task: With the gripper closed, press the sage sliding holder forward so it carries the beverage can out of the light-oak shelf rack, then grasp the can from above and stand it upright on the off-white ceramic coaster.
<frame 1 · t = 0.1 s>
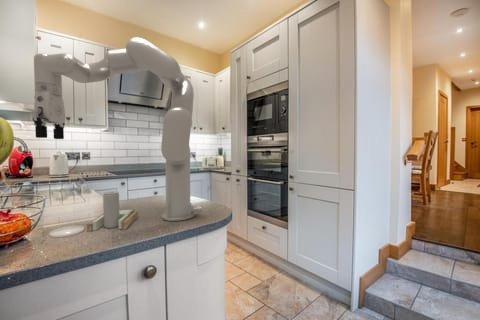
hand: (50, 138, 83), 31 cm above the worktop, tool pointing down, fingers open, 9 cm apart
ceramic coaster: (67, 232, 74), on the worktop
sliding holder: (115, 219, 83), point 2 cm above the worktop, slide at 0.0 cm
beverage can: (112, 226, 80), on the worktop
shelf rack: (115, 223, 83), on the worktop
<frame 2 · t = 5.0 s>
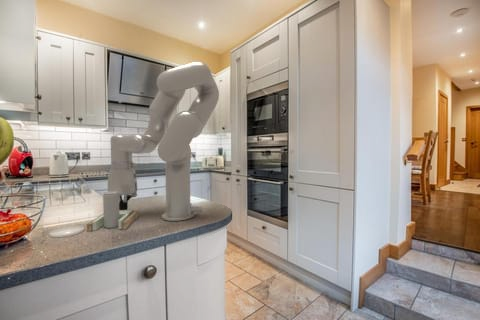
hand: (123, 211, 92), 2 cm above the worktop, tool pointing down, fingers closed
sliding holder: (115, 219, 83), point 2 cm above the worktop, slide at 0.1 cm, touching gripper
everything else where it was.
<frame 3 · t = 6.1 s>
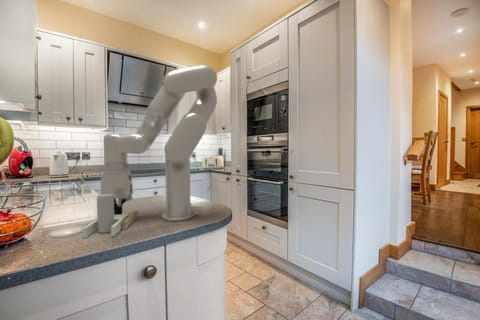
hand: (117, 216, 85), 2 cm above the worktop, tool pointing down, fingers closed
sliding holder: (108, 224, 77), point 2 cm above the worktop, slide at 6.4 cm, touching gripper
beverage can: (106, 231, 76), on the worktop
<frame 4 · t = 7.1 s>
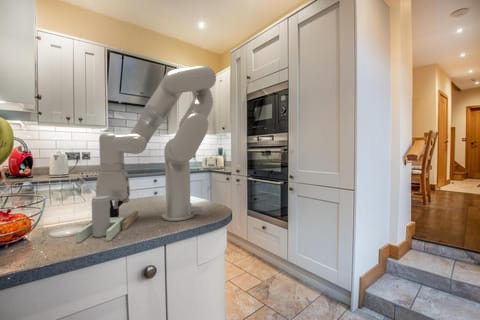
hand: (113, 219, 82), 2 cm above the worktop, tool pointing down, fingers closed
sliding holder: (103, 228, 74), point 2 cm above the worktop, slide at 9.9 cm, touching beverage can, gripper
beverage can: (101, 235, 72), on the worktop, touching sliding holder
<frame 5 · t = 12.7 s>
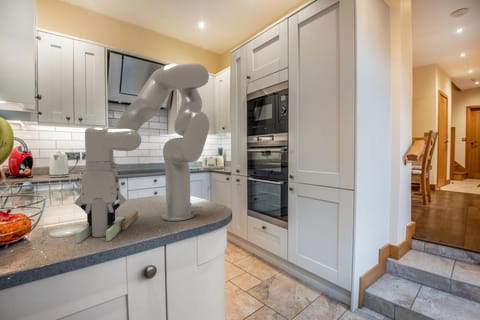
hand: (101, 223, 72), 3 cm above the worktop, tool pointing down, fingers closed on beverage can, 4 cm apart
sliding holder: (103, 228, 73), point 2 cm above the worktop, slide at 10.1 cm
beverage can: (101, 235, 72), on the worktop, touching gripper
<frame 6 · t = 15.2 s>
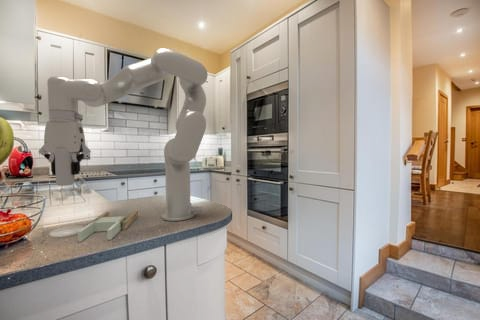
hand: (66, 173, 74), 19 cm above the worktop, tool pointing down, fingers closed on beverage can, 4 cm apart
sliding holder: (104, 227, 74), point 2 cm above the worktop, slide at 9.2 cm
beverage can: (65, 185, 73), point 16 cm above the worktop, touching gripper
when the fingers open (6 cm above the worktop, at t = 18.0 s): beverage can drops 1 cm, resting on ceramic coaster.
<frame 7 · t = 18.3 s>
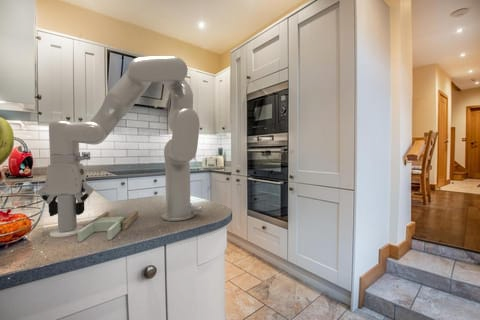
hand: (67, 214, 74), 6 cm above the worktop, tool pointing down, fingers open, 7 cm apart
beverage can: (67, 230, 74), point 1 cm above the worktop, touching ceramic coaster
everything else where it was.
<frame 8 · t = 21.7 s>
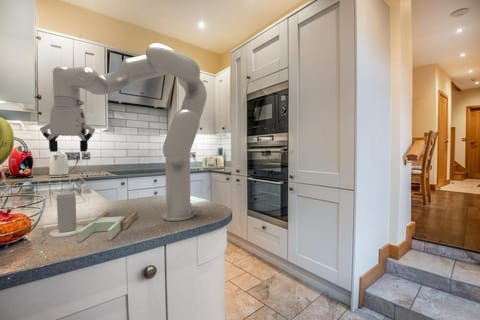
hand: (68, 151, 82), 26 cm above the worktop, tool pointing down, fingers open, 9 cm apart
nothing on the worktop moved.
at the end: beverage can 0.4 cm off-centre on the ceramic coaster, point 0.6 cm above the ceramic coaster's base; beverage can tilted 0°; sliding holder slide at 9.2 cm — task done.
